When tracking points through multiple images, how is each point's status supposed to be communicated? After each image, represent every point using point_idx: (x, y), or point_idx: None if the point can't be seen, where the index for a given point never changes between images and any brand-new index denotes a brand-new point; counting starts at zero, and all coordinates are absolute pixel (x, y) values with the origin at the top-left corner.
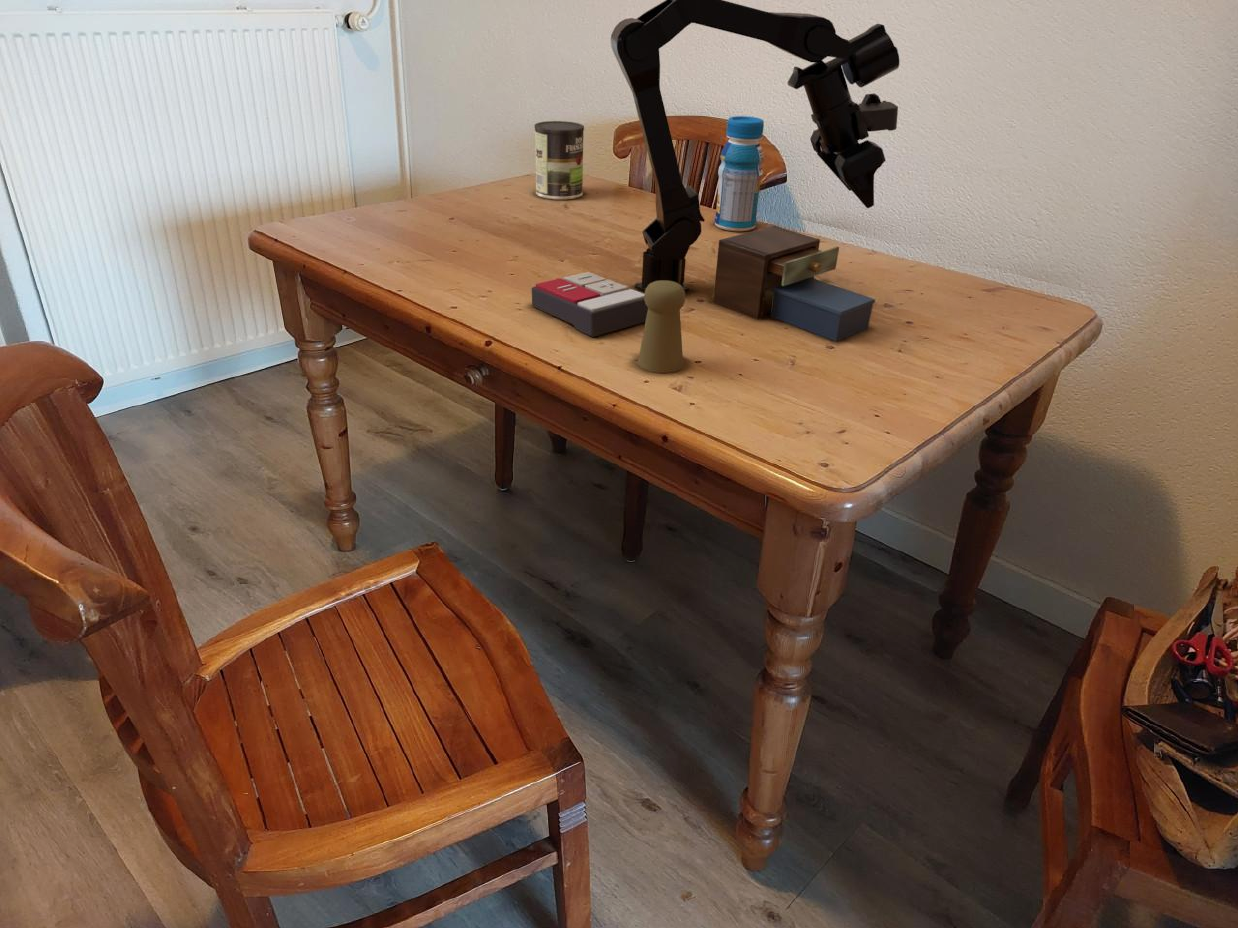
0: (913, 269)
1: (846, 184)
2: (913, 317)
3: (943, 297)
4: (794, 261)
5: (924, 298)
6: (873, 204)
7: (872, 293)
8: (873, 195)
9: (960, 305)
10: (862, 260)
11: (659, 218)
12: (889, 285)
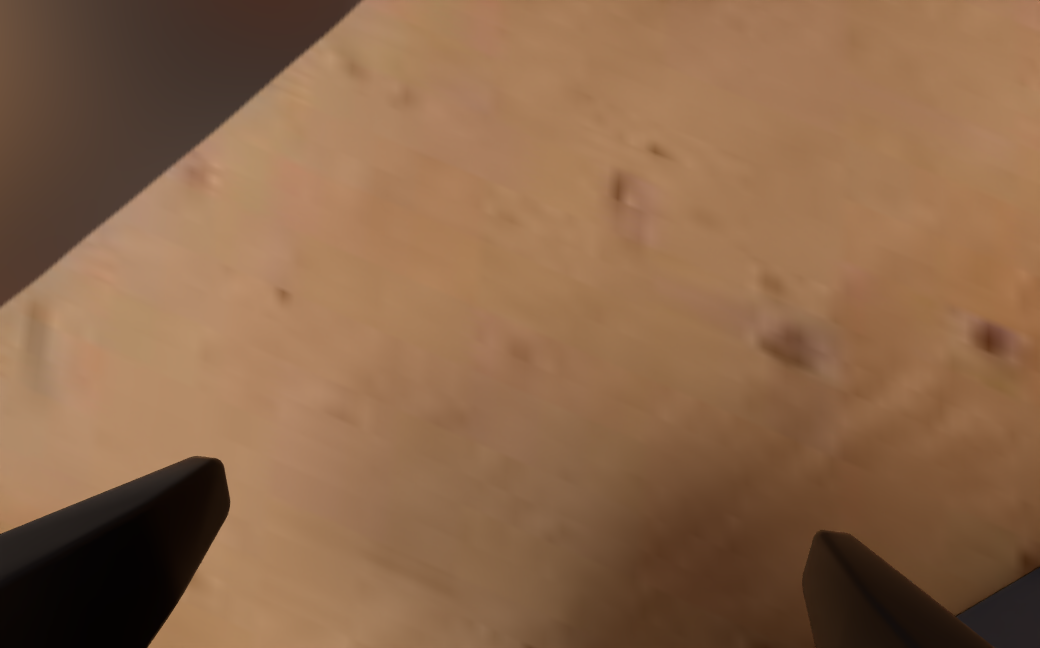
0: (383, 73)
1: (179, 577)
2: (928, 295)
3: (701, 81)
4: None
5: (710, 161)
6: (856, 543)
7: (642, 351)
8: (961, 626)
9: (794, 51)
10: (263, 235)
11: None
12: (554, 242)
